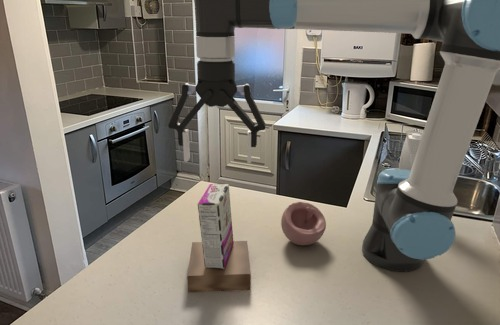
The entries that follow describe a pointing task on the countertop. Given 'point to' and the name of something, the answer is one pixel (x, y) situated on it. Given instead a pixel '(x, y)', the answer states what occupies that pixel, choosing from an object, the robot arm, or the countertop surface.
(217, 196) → the candy bar box
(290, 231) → the mortar and pestle
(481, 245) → the countertop surface
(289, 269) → the countertop surface
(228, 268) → the walnut block
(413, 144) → the skyscraper
